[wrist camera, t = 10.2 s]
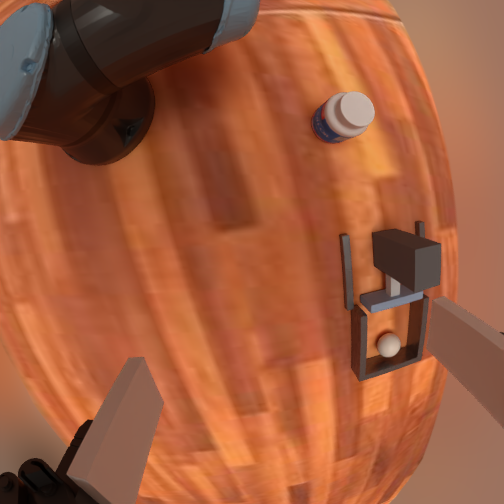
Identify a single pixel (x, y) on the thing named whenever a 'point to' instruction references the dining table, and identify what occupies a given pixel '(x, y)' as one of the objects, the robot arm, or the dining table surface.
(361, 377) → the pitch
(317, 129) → the pill bottle
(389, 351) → the ball
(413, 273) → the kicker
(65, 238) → the dining table surface
